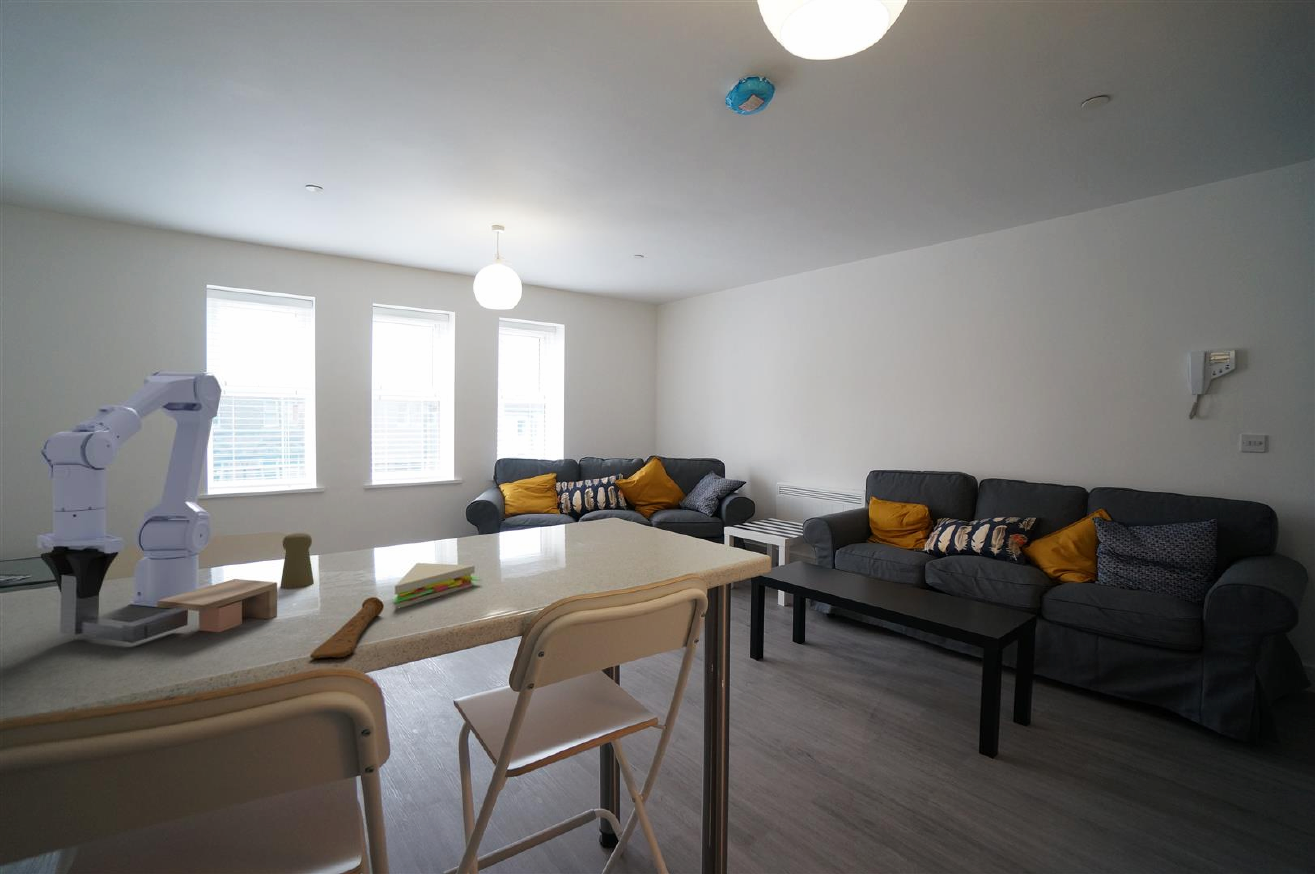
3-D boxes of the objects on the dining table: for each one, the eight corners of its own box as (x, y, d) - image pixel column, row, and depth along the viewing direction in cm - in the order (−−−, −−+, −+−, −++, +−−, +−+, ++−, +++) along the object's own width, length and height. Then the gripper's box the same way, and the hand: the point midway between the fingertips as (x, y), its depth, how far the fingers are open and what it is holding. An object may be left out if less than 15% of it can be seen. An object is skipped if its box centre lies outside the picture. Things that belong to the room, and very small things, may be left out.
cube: (199, 630, 92) (199, 606, 92) (222, 622, 96) (222, 599, 96) (218, 632, 91) (218, 608, 91) (241, 624, 95) (241, 601, 95)
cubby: (157, 638, 88) (157, 600, 88) (235, 612, 101) (235, 578, 101) (203, 643, 87) (203, 605, 86) (277, 616, 99) (277, 582, 99)
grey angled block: (60, 633, 86) (61, 574, 86) (123, 615, 94) (124, 562, 94) (128, 644, 83) (130, 584, 83) (187, 624, 92) (189, 570, 92)
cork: (290, 582, 121) (290, 531, 120) (319, 581, 121) (319, 531, 121) (273, 590, 115) (273, 536, 114) (304, 589, 115) (304, 536, 115)
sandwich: (351, 606, 107) (351, 579, 107) (428, 580, 125) (428, 558, 125) (412, 617, 101) (412, 589, 101) (484, 588, 119) (484, 565, 119)
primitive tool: (308, 655, 81) (311, 677, 82) (348, 652, 82) (350, 674, 82) (362, 596, 100) (364, 614, 100) (394, 594, 100) (396, 612, 101)
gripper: (11, 510, 85) (11, 599, 85) (84, 514, 82) (85, 607, 82) (68, 504, 91) (69, 587, 92) (138, 508, 88) (139, 593, 89)
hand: (80, 595), depth 87 cm, fingers closed on grey angled block, 3 cm apart
